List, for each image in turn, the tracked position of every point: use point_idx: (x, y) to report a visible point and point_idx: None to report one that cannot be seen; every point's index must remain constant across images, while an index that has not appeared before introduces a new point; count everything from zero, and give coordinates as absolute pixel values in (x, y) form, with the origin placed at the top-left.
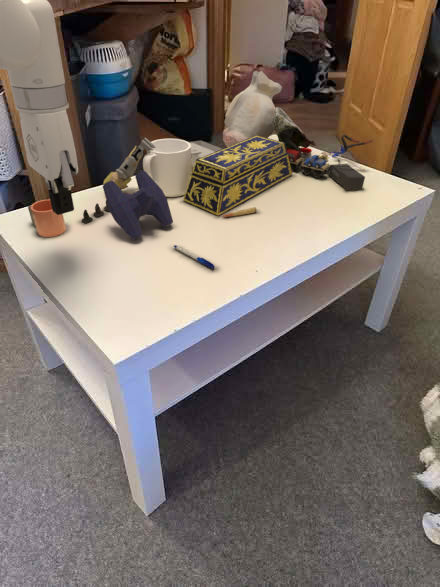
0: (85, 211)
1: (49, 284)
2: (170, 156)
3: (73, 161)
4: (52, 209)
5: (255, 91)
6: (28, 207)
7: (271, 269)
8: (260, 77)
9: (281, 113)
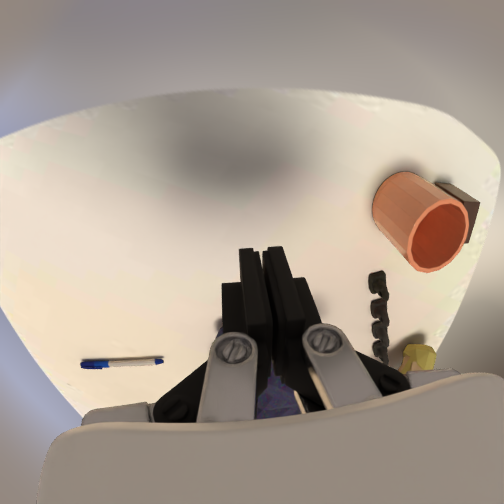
0: (383, 297)
1: (158, 100)
2: None
3: None
4: (280, 249)
5: None
6: (476, 201)
7: (69, 393)
8: None
9: None
